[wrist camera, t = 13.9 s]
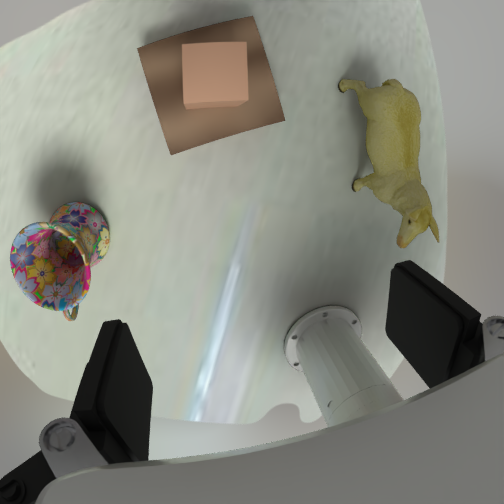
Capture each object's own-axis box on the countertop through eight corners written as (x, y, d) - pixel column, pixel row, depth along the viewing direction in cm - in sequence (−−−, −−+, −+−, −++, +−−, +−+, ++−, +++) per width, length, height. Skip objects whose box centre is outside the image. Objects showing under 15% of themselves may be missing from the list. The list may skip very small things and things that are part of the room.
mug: (43, 201, 33) (0, 227, 23) (109, 193, 34) (79, 218, 25) (61, 287, 38) (32, 332, 28) (123, 284, 39) (105, 332, 29)
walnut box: (273, 121, 35) (285, 120, 30) (174, 151, 35) (170, 155, 30) (245, 29, 30) (253, 15, 26) (144, 58, 30) (137, 48, 25)
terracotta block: (237, 106, 29) (248, 100, 23) (186, 109, 28) (183, 103, 22) (235, 59, 27) (246, 41, 21) (184, 62, 27) (181, 44, 20)
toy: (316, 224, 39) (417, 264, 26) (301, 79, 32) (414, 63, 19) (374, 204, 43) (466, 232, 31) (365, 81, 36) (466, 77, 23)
